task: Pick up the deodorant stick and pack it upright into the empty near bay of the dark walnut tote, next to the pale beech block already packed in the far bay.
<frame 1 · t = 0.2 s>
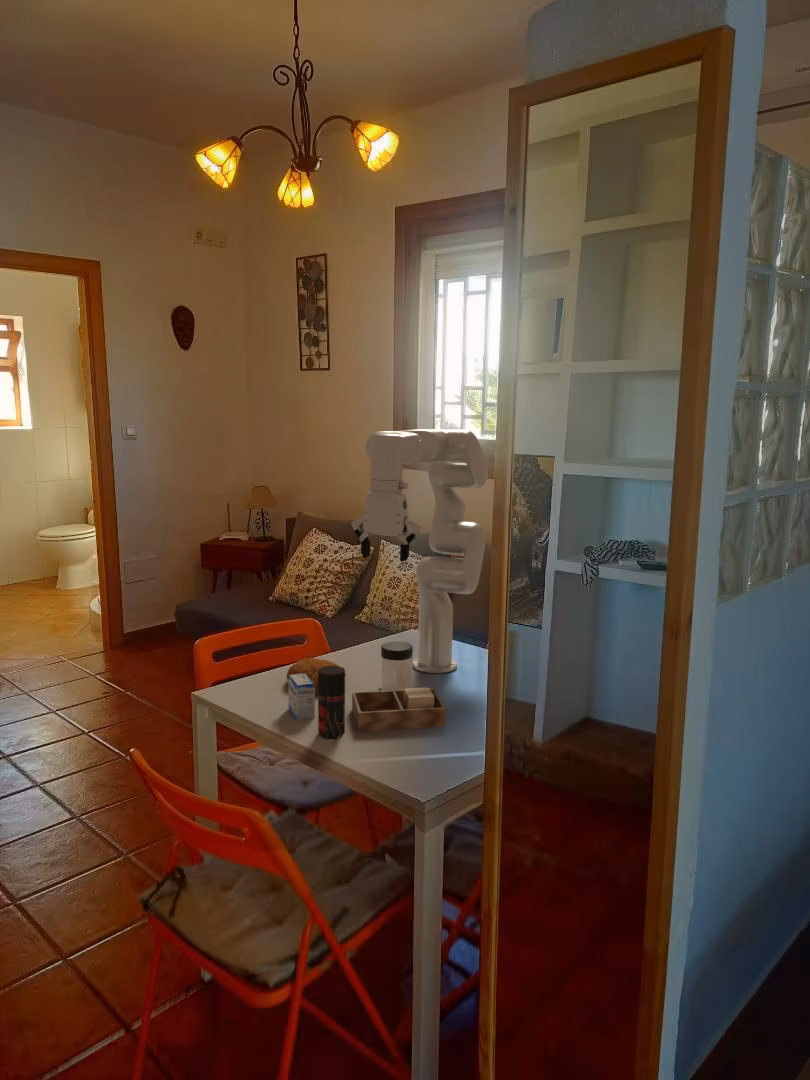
hand: (384, 558, 187), 37 cm above the table, tool pointing down, fingers open, 9 cm apart
tote: (397, 720, 185), on the table
croissant: (316, 686, 208), on the table
deodorant: (331, 734, 177), on the table
jar: (396, 691, 205), on the table
beech block: (418, 716, 186), point 1 cm above the table, touching tote
medicine box: (301, 714, 189), on the table
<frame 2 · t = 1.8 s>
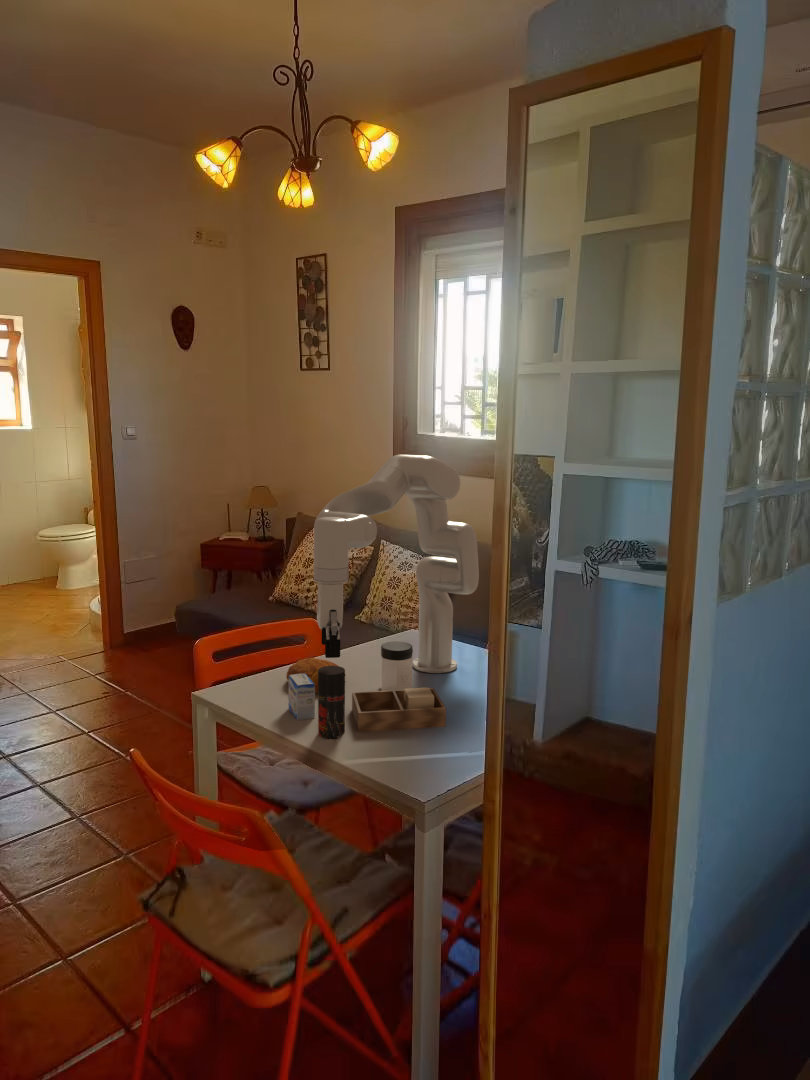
hand: (330, 650, 174), 20 cm above the table, tool pointing down, fingers open, 9 cm apart
nothing on the table moved.
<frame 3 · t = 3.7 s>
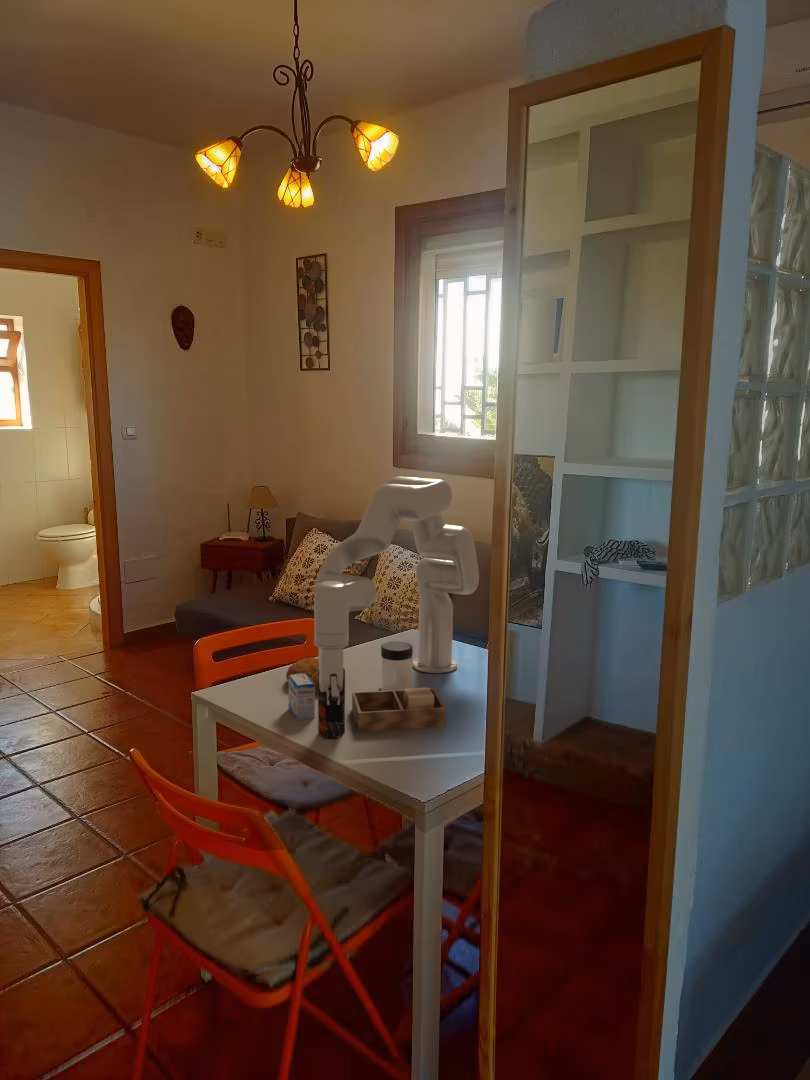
hand: (331, 714, 176), 5 cm above the table, tool pointing down, fingers closed on deodorant, 5 cm apart
deodorant: (331, 734, 177), on the table, touching gripper
everything else where it was.
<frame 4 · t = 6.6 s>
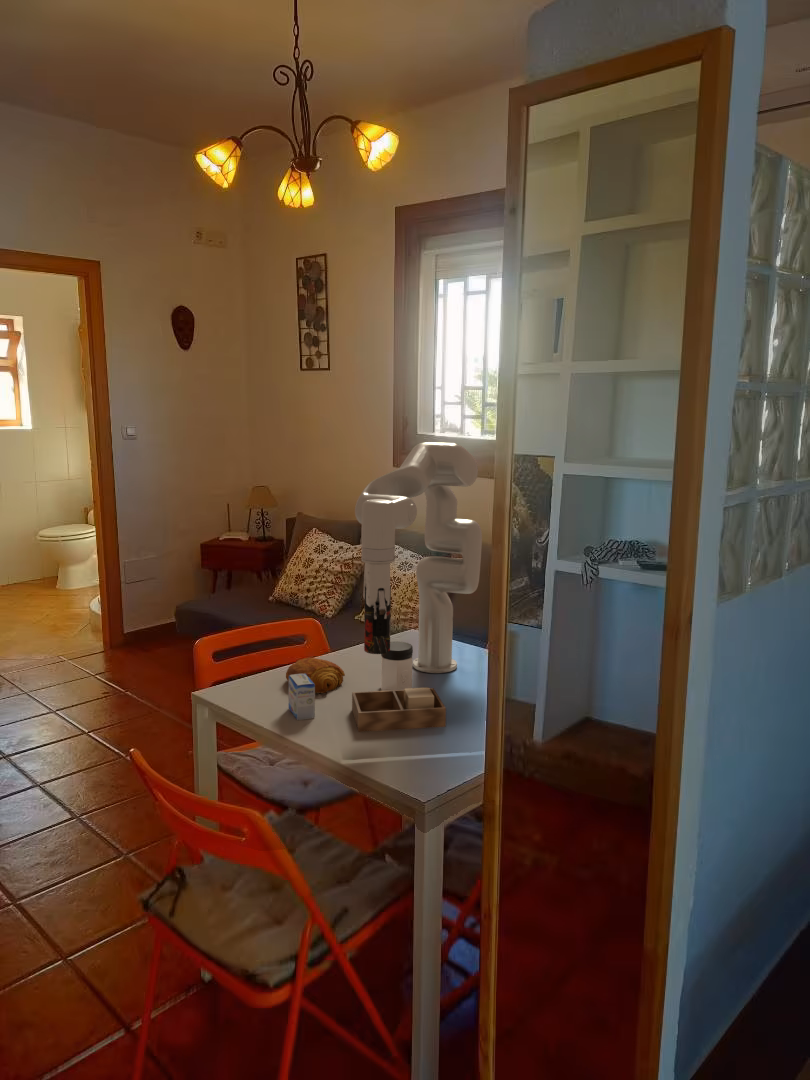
hand: (377, 631, 181), 22 cm above the table, tool pointing down, fingers closed on deodorant, 5 cm apart
deodorant: (377, 650, 182), point 17 cm above the table, touching gripper
everything else where it was.
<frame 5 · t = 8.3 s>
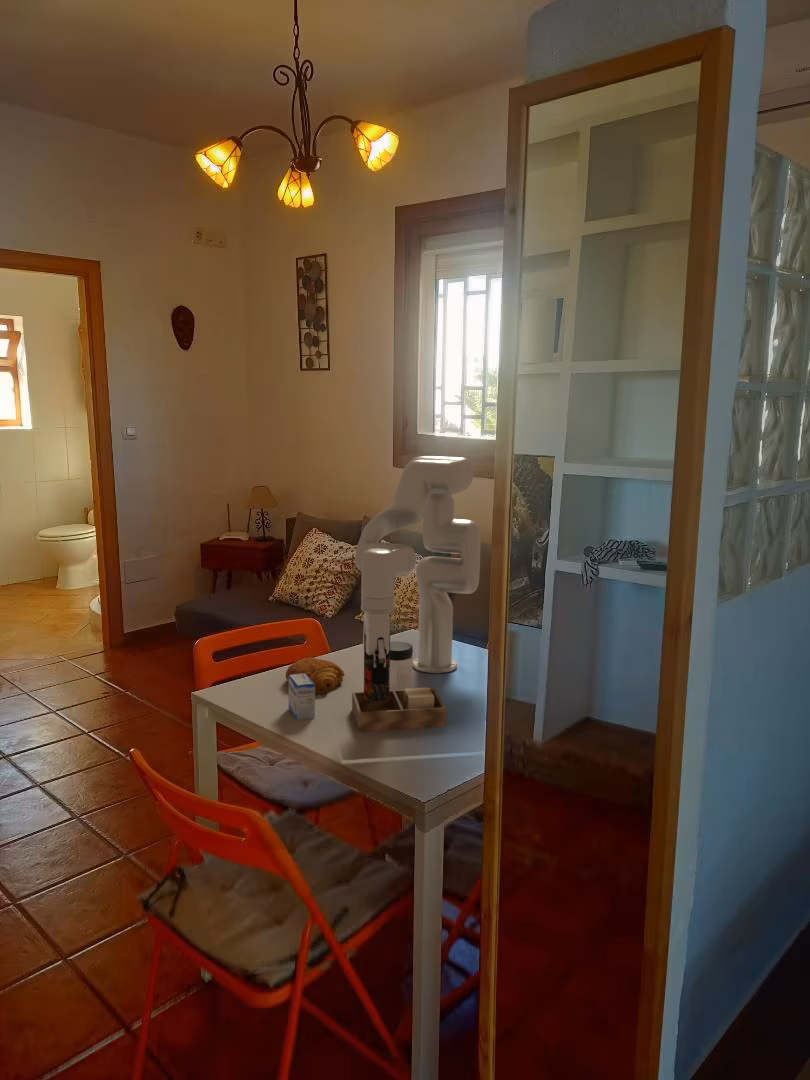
hand: (376, 678, 183), 11 cm above the table, tool pointing down, fingers closed on deodorant, 5 cm apart
deodorant: (376, 697, 183), point 6 cm above the table, touching gripper
everything else where it was.
when the fingers open (7 cm above the table, at t = 9.7 s): deodorant drops 1 cm, resting on tote.
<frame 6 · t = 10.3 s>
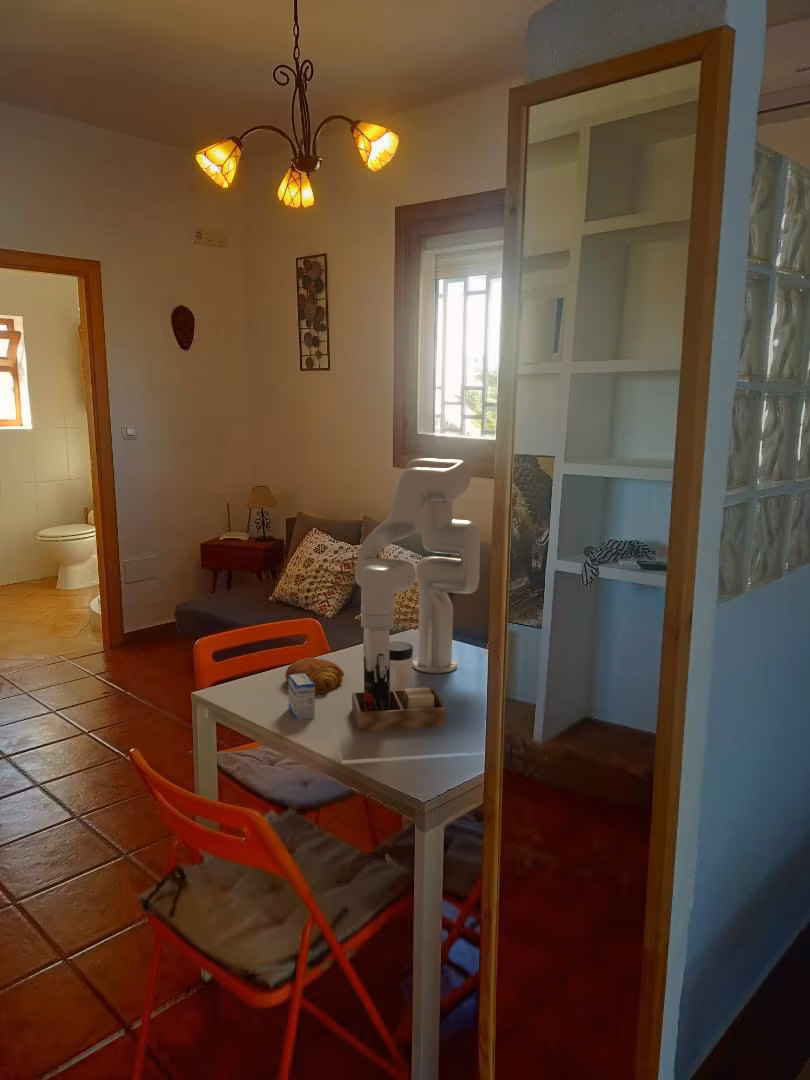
hand: (376, 690, 183), 8 cm above the table, tool pointing down, fingers open, 9 cm apart
deodorant: (376, 719, 185), resting on tote
everything else where it was.
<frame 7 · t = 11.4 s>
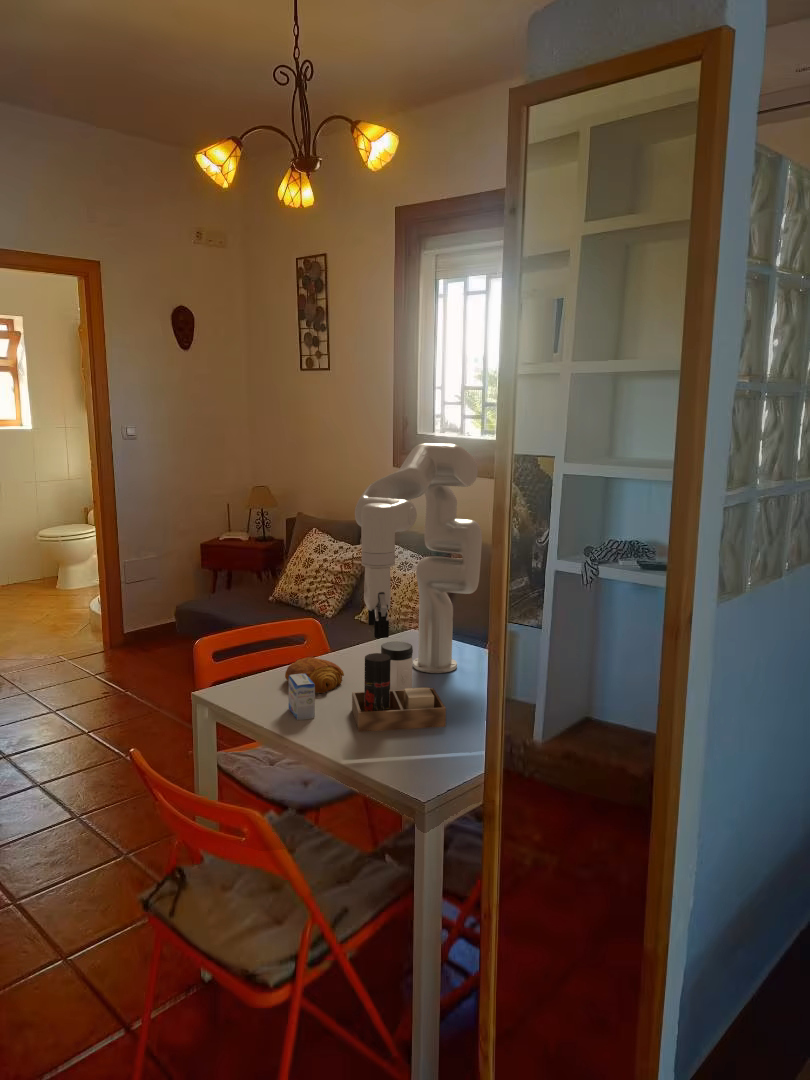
hand: (378, 630, 181), 22 cm above the table, tool pointing down, fingers open, 9 cm apart
nothing on the table moved.
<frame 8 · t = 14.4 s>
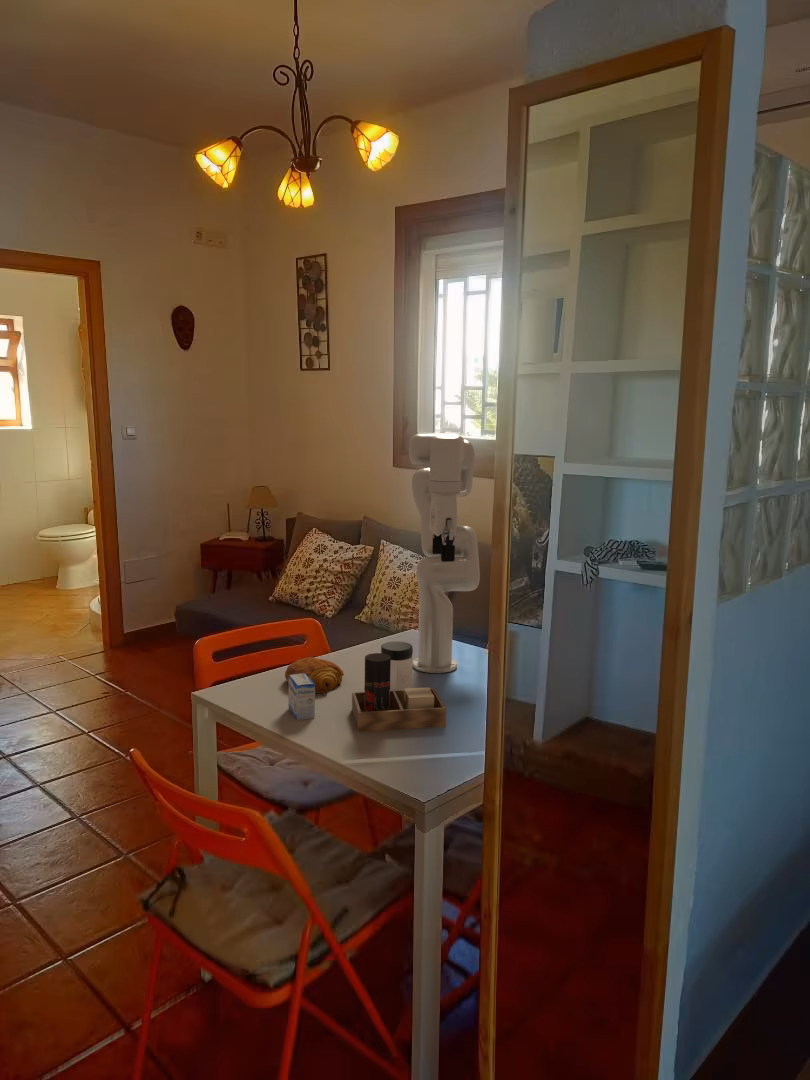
hand: (443, 557, 194), 36 cm above the table, tool pointing down, fingers open, 9 cm apart
nothing on the table moved.
at the end: deodorant inside the target area on the tote (0.3 cm from its centre), point 0.4 cm above the tote's base; deodorant tilted 0°; the gripper is holding nothing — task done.
